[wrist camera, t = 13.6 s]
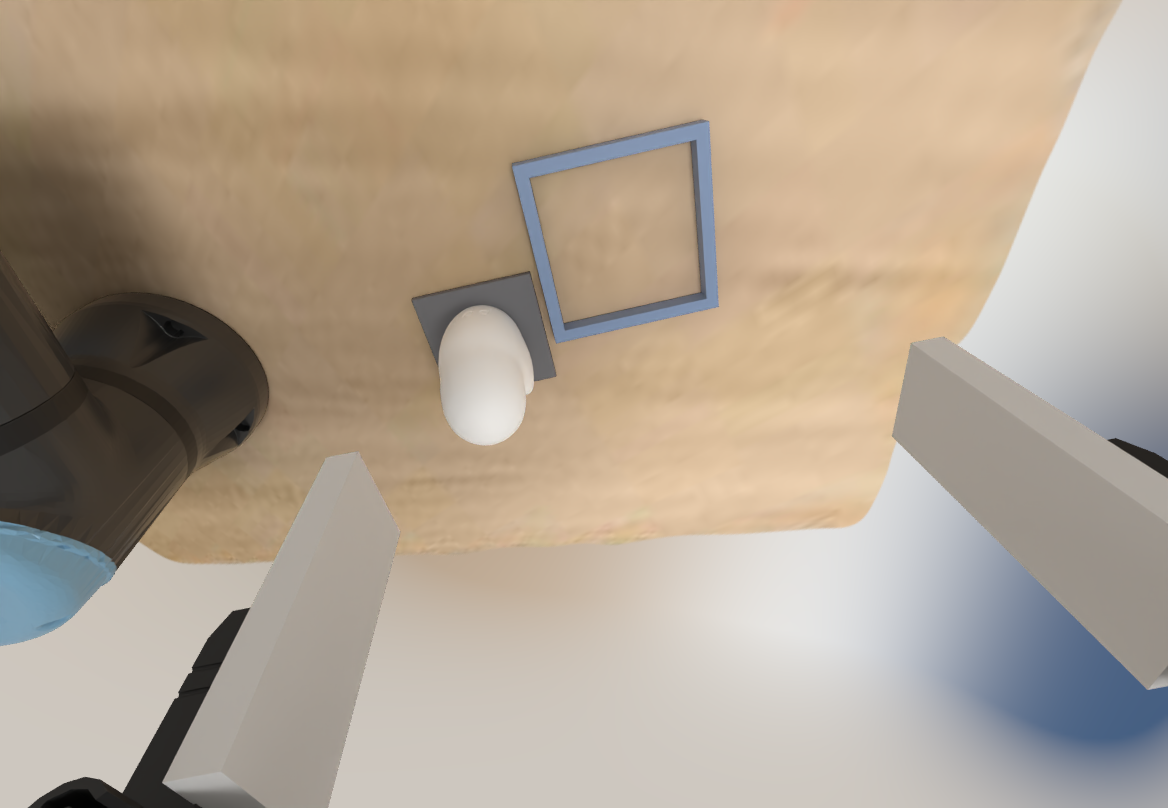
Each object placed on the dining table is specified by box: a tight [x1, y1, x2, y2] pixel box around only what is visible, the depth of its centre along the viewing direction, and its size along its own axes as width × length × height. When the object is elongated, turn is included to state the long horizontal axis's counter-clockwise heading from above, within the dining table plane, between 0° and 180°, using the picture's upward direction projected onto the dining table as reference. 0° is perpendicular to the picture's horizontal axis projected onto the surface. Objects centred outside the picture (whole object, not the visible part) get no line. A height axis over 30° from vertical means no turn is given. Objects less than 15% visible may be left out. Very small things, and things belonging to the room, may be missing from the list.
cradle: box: [512, 120, 719, 343], centre depth 42 cm, size 14×14×2 cm
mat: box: [412, 272, 556, 381], centre depth 46 cm, size 10×10×1 cm
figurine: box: [438, 305, 534, 445], centre depth 41 cm, size 7×8×12 cm
